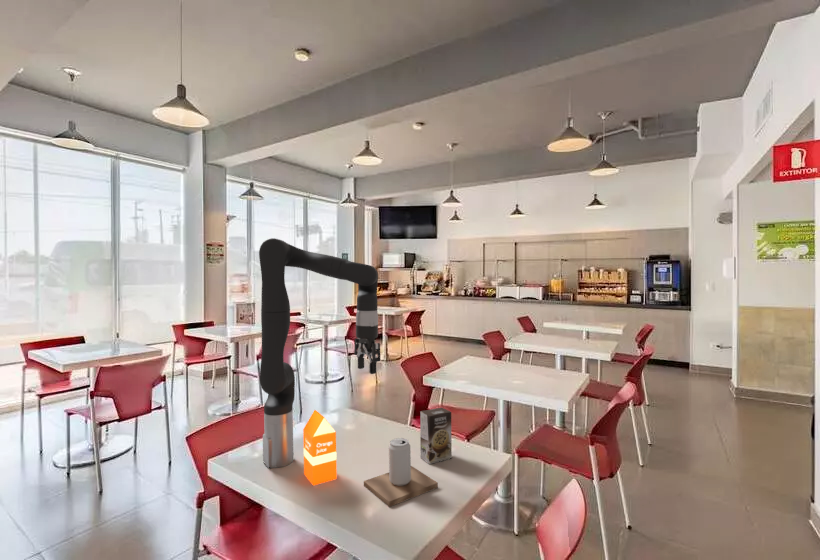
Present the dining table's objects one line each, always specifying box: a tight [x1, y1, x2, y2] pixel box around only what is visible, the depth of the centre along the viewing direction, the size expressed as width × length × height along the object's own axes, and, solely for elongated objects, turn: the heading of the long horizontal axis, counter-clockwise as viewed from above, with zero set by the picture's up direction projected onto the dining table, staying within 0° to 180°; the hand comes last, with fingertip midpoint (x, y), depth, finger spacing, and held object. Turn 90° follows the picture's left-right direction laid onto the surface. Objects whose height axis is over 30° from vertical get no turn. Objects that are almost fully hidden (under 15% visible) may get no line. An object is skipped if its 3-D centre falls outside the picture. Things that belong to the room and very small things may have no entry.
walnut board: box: [363, 465, 439, 508], centre depth 123 cm, size 17×14×2 cm
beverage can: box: [388, 437, 412, 486], centre depth 123 cm, size 6×6×12 cm
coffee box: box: [419, 407, 453, 465], centre depth 142 cm, size 9×6×16 cm
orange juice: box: [302, 409, 338, 486], centre depth 130 cm, size 8×9×20 cm
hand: (366, 371), depth 141 cm, fingers open, 8 cm apart
